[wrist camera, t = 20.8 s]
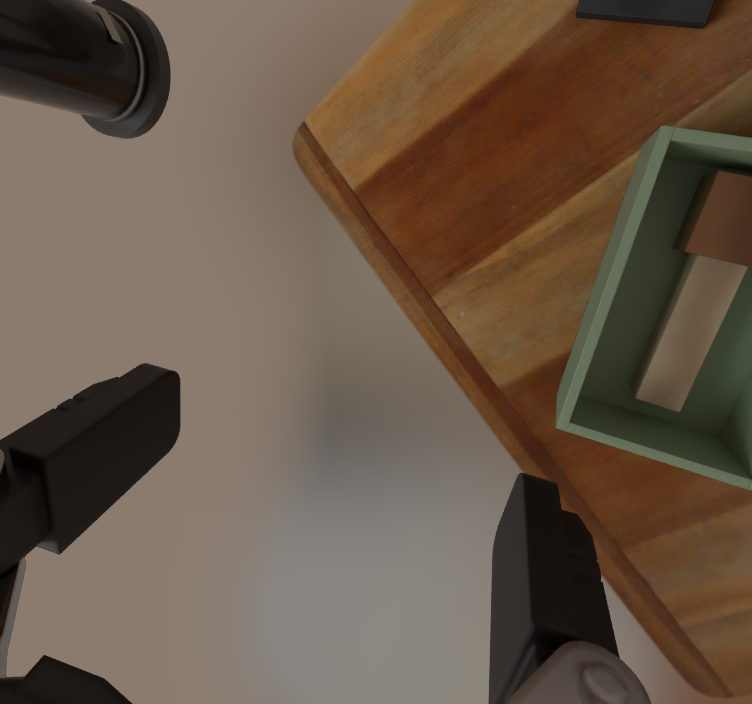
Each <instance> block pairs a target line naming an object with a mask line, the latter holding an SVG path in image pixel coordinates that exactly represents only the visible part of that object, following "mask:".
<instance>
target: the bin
mask: <svg viewBox="0 0 752 704" xmlns="http://www.w3.org/2000/svg"><path fill="white" fill-rule="evenodd" d="M719 170H721V171H726V172H732V173H737V174H742V175H748V176H752V138H750V137H743V136H736V135H729V134H722V133H715V132H708V131H701V130H694V129H687V128H680V127H672V126H665V125H662V126H661V127H660V128H659V129H658V130H657V131H656V132H655V133H654V134H653V135H652V136H651V137H650V138H649V139H648V140H647V141H646V142H645V143H644V144H643V145H642V147H641V149H640V152H639V155H638V158H637V161H636V164H635V167H634V170H633V173H632V176H631V179H630V182H629V184H628V187H627V190H626V193H625V196H624V199H623V202H622V205H621V208H620V211H619V214H618V217H617V220H616V222H615V225H614V228H613V231H612V234H611V237H610V240H609V243H608V246H607V249H606V252H605V255H604V257H603V260H602V263H601V266H600V269H599V272H598V275H597V278H596V281H595V284H594V287H593V290H592V293H591V295H590V298H589V301H588V304H587V307H586V310H585V313H584V316H583V319H582V322H581V325H580V328H579V330H578V333H577V336H576V339H575V342H574V345H573V348H572V351H571V354H570V357H569V360H568V363H567V365H566V368H565V371H564V374H563V377H562V380H561V383H560V386H559V389H558V392H557V409H556V428H558V429H561V430H564V431H567V432H570V433H573V434H576V435H579V436H583V437H586V438H589V439H592V440H595V441H598V442H601V443H604V444H607V445H611V446H614V447H617V448H620V449H623V450H626V451H629V452H632V453H636V454H639V455H642V456H645V457H648V458H651V459H654V460H657V461H660V462H664V463H667V464H670V465H673V466H676V467H679V468H682V469H685V470H689V471H692V472H695V473H698V474H701V475H704V476H707V477H710V478H713V479H717V480H720V481H723V482H726V483H729V484H732V485H735V486H738V487H742V488H745V489H749V490H752V268H751V267H748V269H747V271H746V273H745V275H744V278H743V280H742V282H741V284H740V286H739V288H738V290H737V292H736V295H735V297H734V299H733V301H732V303H731V305H730V307H729V309H728V311H727V314H726V316H725V318H724V320H723V322H722V324H721V326H720V328H719V331H718V333H717V335H716V337H715V339H714V341H713V343H712V345H711V348H710V350H709V352H708V354H707V356H706V358H705V360H704V362H703V364H702V367H701V369H700V371H699V373H698V375H697V377H696V379H695V381H694V384H693V386H692V388H691V390H690V392H689V394H688V396H687V398H686V400H685V403H684V405H683V407H682V409H681V411H680V412H676V411H673V410H670V409H667V408H664V407H660V406H657V405H654V404H651V403H648V402H644V401H641V400H638V399H636V398H635V396H634V394H633V392H632V389H631V387H630V385H631V383H632V380H633V378H634V376H635V373H636V371H637V369H638V366H639V364H640V362H641V359H642V357H643V355H644V352H645V350H646V347H647V345H648V343H649V340H650V338H651V336H652V333H653V331H654V329H655V326H656V324H657V322H658V319H659V317H660V315H661V312H662V310H663V308H664V305H665V303H666V301H667V298H668V296H669V294H670V291H671V289H672V286H673V284H674V282H675V279H676V277H677V275H678V272H679V270H680V268H681V265H682V263H683V261H684V258H685V256H686V254H687V253H686V252H682V251H677V250H673V249H672V247H673V245H674V242H675V240H676V237H677V235H678V232H679V230H680V228H681V225H682V223H683V220H684V218H685V216H686V213H687V211H688V208H689V206H690V204H691V201H692V199H693V196H694V194H695V192H696V189H697V187H698V184H699V182H700V179H701V177H702V176H705V175H708V174H710V173H713V172H716V171H719Z"/></svg>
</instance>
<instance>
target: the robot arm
mask: <svg viewBox="0 0 752 704" xmlns="http://www.w3.org/2000/svg"><path fill="white" fill-rule="evenodd" d="M147 84H148V60H147V55H146V51H145V47H144V45H143V42H142V40H141V38H140V36H139V34H138V32H137V31H136V29H135V28H134V27H133V26H132V25H131V24H130V23H129V22H128V21H127V20H126V19H124V18H123V17H121V16H119V15H117V14H115V13H113V12H111V11H108V10H106V9H104V8H102V7H100V6H97V5H96V6H95V5H93V4H91V3H89V2H87V1H85V0H0V95H2V96H6V97H10V98H15V99H19V100H23V101H28V102H32V103H36V104H40V105H44V106H49V107H53V108H58V109H62V110H66V111H70V112H73V113H78V114H82V115H87V116H91V117H94V118H96V119H99V120H103V121H107V122H121V121H124V120H126V119H128V118H129V117H131V116H132V115H133V114H134V113H135V112H136V111H137V109H138V108H139V106H140V105H141V103H142V101H143V99H144V96H145V93H146V89H147ZM179 432H180V377H179V375H178V373H177V372H175V371H171V370H168V369H165V368H161V367H158V366H154V365H151V364H147V363H144V364H141V365H139V366H137V367H136V368H134V369H132V370H131V371H129V372H128V373H126V374H124V375H123V376H121V377H120V378H119V377H115V378H112V379H109V380H106V381H103V382H99V383H96V384H93V385H91V386H90V387H88V388H86V389H85V390H83V391H81V392H80V393H78V394H76V395H75V396H74V397H73V399H68V400H66V401H65V402H63V403H61V404H60V405H58V406H57V408H56V409H51V410H50V411H48V412H46V413H45V414H43V415H41V416H40V417H38V418H36V419H35V420H33V421H31V422H30V423H28V424H26V425H25V426H23V427H22V428H20V429H18V430H16V431H15V432H13V433H11V434H10V435H8V436H6V437H5V438H3V439H1V440H0V704H132V703H131V702H130V701H129V700H128V699H127V698H125V697H124V696H123V695H122V694H121V693H120V692H119V691H118V690H117V689H115V688H114V687H113V686H112V685H111V684H110V683H109V682H108V681H106V680H105V679H104V678H101V677H99V676H96V675H94V674H91V673H89V672H86V671H84V670H81V669H79V668H76V667H74V666H71V665H68V664H66V663H63V662H61V661H58V660H56V659H53V658H51V657H48V656H45V655H44V656H43V657H42V658H41V659H40V660H39V661H38V662H37V663H36V665H35V666H34V667H33V668H32V669H31V670H30V671H29V673H28V674H27V675H26V676H25V677H6V662H7V653H8V648H9V643H10V639H11V634H12V629H13V625H14V620H15V615H16V611H17V606H18V601H19V597H20V592H21V588H22V583H23V579H24V574H25V569H26V561H25V556H26V555H27V554H28V553H29V552H30V551H31V550H32V549H34V548H35V547H36V546H37V547H40V548H43V549H45V550H48V551H51V552H54V553H56V554H61V553H62V552H63V551H64V550H65V549H66V548H67V547H68V546H69V545H70V544H71V543H72V542H74V540H76V539H77V538H78V537H79V536H80V535H81V534H82V533H83V532H84V531H85V530H86V529H87V528H88V527H89V526H91V525H92V523H94V522H95V521H96V520H97V519H98V518H99V517H100V516H101V515H102V514H103V513H104V512H105V511H107V510H108V509H109V508H110V507H111V506H112V505H113V504H114V503H115V502H116V501H117V500H118V499H119V498H120V497H121V496H122V495H124V494H125V493H126V492H127V491H128V490H129V489H130V488H131V487H132V486H133V485H134V484H135V483H136V482H137V481H138V480H140V479H141V478H142V477H143V476H144V475H145V474H146V473H147V472H148V471H149V470H150V469H151V468H152V467H153V466H154V465H156V464H157V463H158V462H159V461H160V460H161V459H162V458H163V457H164V456H165V455H166V454H167V453H168V452H169V451H170V450H171V449H172V448H173V446H174V444H175V443H176V440H177V438H178V435H179ZM492 558H493V559H492V594H491V632H490V634H491V635H490V671H489V704H651V702H650V699H649V696H648V694H647V692H646V690H645V688H644V686H643V685H642V683H641V682H640V680H639V679H638V677H637V676H636V675H635V674H634V672H633V671H632V670H631V669H630V668H629V667H628V666H627V665H626V664H625V663H624V662H623V661H622V660H621V659H620V657H619V654H618V649H617V645H616V640H615V636H614V631H613V627H612V622H611V618H610V613H609V609H608V604H607V600H606V595H605V591H604V587H603V583H602V582H601V573H600V568H599V564H598V563H597V555H596V551H595V546H594V542H593V537H592V535H591V534H590V532H589V531H588V529H587V528H586V526H585V525H584V523H583V522H582V520H581V519H580V517H579V516H578V514H574V513H571V512H568V511H564V510H562V509H561V503H560V496H559V490H558V485H557V483H556V482H552V481H549V480H545V479H542V478H538V477H535V476H531V475H528V474H524V473H520V474H519V475H518V477H517V478H516V481H515V483H514V486H513V489H512V491H511V494H510V496H509V499H508V502H507V504H506V507H505V509H504V512H503V515H502V517H501V520H500V522H499V525H498V528H497V532H496V536H495V541H494V546H493V557H492Z"/></svg>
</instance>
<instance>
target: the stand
mask: <svg viewBox="0 0 752 704" xmlns="http://www.w3.org/2000/svg"><path fill="white" fill-rule="evenodd" d="M713 3H714V0H579V3H578V7H577V10H576V17H577V18H588V19H599V20H610V21H621V22H633V23H644V24H655V25H666V26H677V27H689V28H700V29H702V28H703V27H704V26H705V24H706V23H707V20H708V17H709V15H710V12H711V9H712V6H713Z"/></svg>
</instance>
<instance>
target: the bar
mask: <svg viewBox="0 0 752 704" xmlns="http://www.w3.org/2000/svg"><path fill="white" fill-rule="evenodd" d="M672 249H673V250H677V251H682V252H686V253H687V254H686V256H685V258H684V261H683V263H682V265H681V268H680V270H679V272H678V275H677V277H676V279H675V282H674V284H673V286H672V289H671V291H670V294H669V296H668V298H667V301H666V303H665V305H664V308H663V310H662V312H661V315H660V317H659V319H658V322H657V324H656V326H655V329H654V331H653V333H652V336H651V338H650V340H649V343H648V345H647V347H646V350H645V352H644V355H643V357H642V359H641V362H640V364H639V366H638V369H637V371H636V373H635V376H634V378H633V380H632V383H631V385H630V387H631V389H632V392H633V394H634V396H635V398H636V399H638V400H641V401H644V402H648V403H651V404H654V405H657V406H660V407H664V408H667V409H670V410H673V411H676V412H680V411H681V409H682V407H683V405H684V403H685V400H686V398H687V396H688V394H689V392H690V390H691V388H692V386H693V384H694V381H695V379H696V377H697V375H698V373H699V371H700V369H701V367H702V364H703V362H704V360H705V358H706V356H707V354H708V352H709V350H710V348H711V345H712V343H713V341H714V339H715V337H716V335H717V333H718V331H719V328H720V326H721V324H722V322H723V320H724V318H725V316H726V314H727V311H728V309H729V307H730V305H731V303H732V301H733V299H734V297H735V295H736V292H737V290H738V288H739V286H740V284H741V282H742V280H743V278H744V275H745V273H746V271H747V269H748V267H751V268H752V176H748V175H742V174H737V173H732V172H726V171H721V170H719V171H716V172H713V173H710V174H708V175H705V176H702V177H701V179H700V182H699V184H698V187H697V189H696V192H695V194H694V196H693V199H692V201H691V204H690V206H689V208H688V211H687V213H686V216H685V218H684V220H683V223H682V225H681V228H680V230H679V232H678V235H677V237H676V240H675V242H674V245H673V247H672Z"/></svg>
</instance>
